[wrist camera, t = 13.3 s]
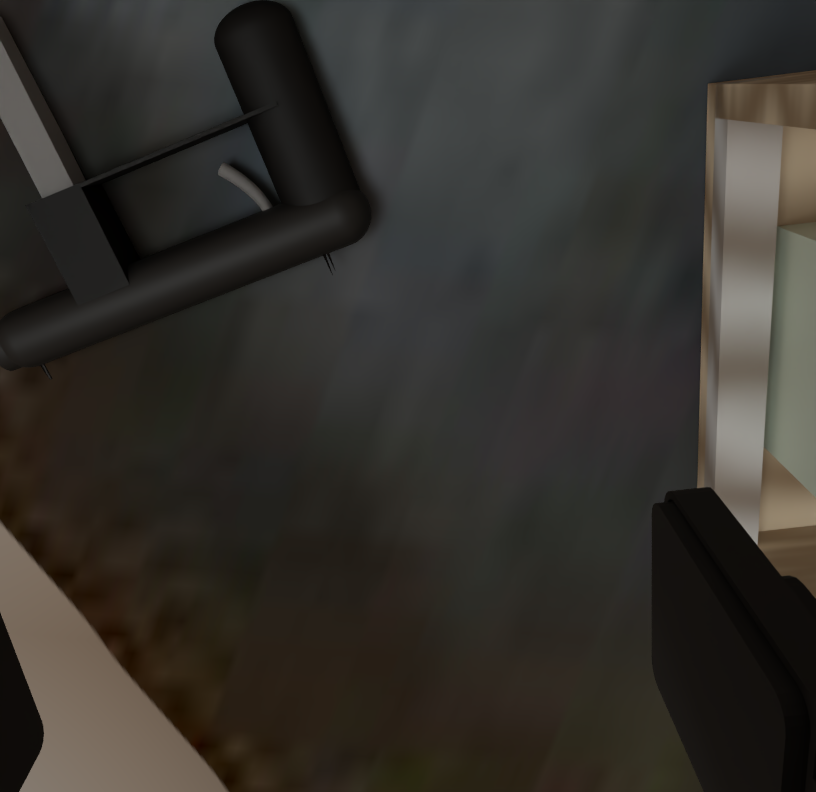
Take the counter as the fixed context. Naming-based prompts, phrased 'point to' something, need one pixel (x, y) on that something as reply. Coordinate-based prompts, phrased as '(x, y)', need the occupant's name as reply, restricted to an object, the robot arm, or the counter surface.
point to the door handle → (202, 256)
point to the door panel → (793, 355)
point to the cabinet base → (792, 209)
